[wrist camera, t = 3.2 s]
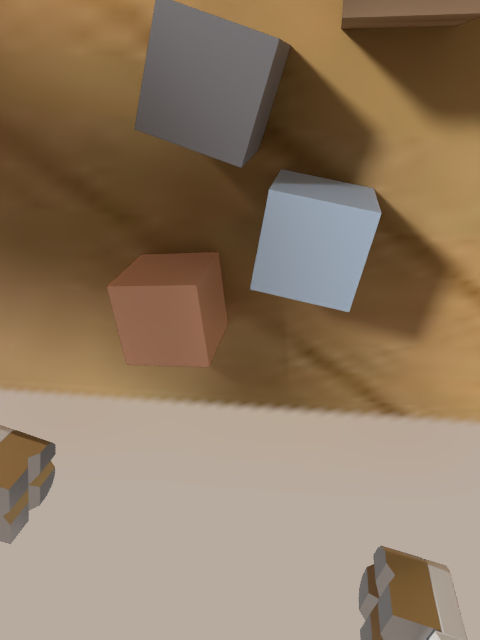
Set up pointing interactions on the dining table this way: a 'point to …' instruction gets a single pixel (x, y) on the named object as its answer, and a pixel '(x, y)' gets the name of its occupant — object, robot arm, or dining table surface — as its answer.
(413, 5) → the walnut cube
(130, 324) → the terracotta cube
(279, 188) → the dusty blue cube
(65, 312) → the dining table surface
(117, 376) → the dining table surface
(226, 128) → the charcoal cube
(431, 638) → the robot arm
